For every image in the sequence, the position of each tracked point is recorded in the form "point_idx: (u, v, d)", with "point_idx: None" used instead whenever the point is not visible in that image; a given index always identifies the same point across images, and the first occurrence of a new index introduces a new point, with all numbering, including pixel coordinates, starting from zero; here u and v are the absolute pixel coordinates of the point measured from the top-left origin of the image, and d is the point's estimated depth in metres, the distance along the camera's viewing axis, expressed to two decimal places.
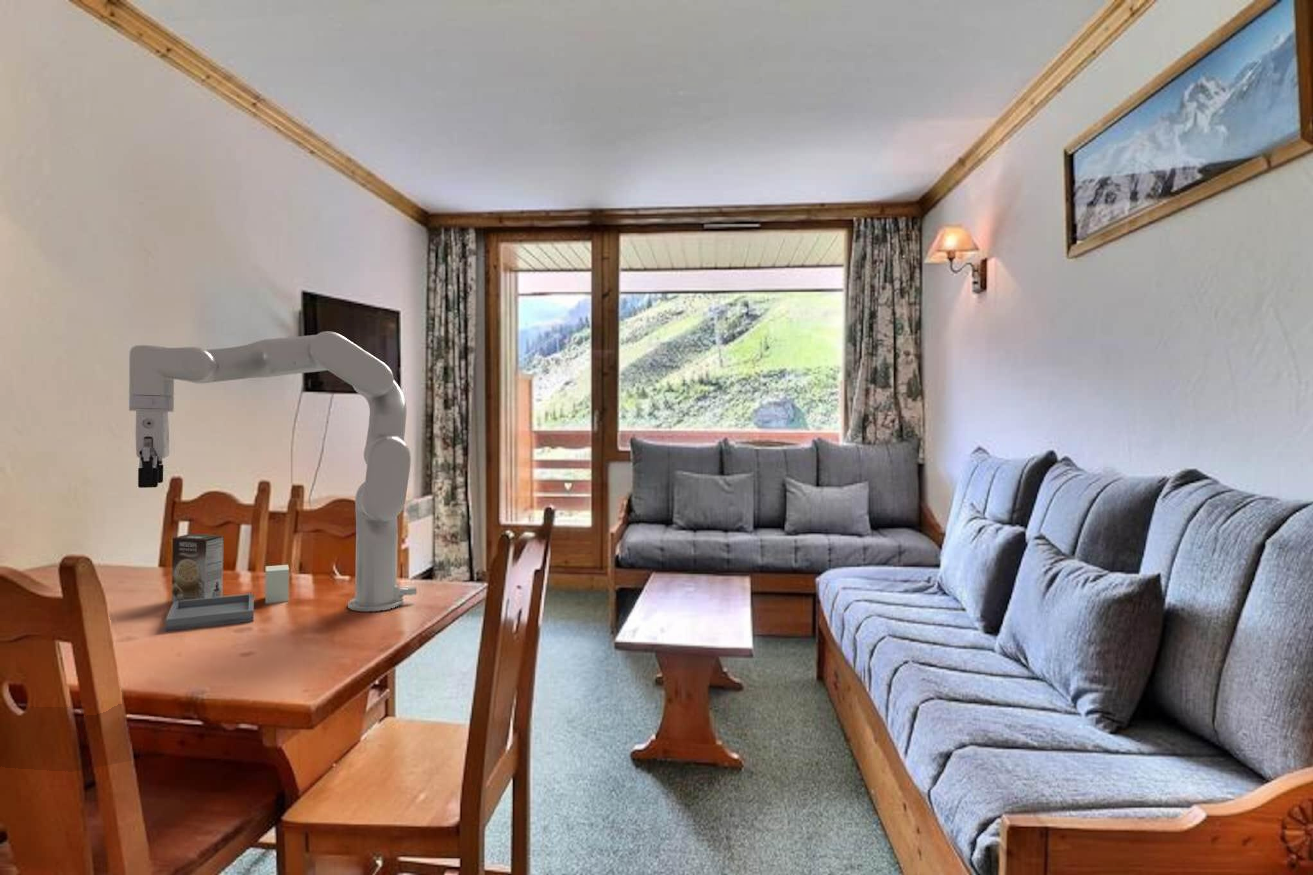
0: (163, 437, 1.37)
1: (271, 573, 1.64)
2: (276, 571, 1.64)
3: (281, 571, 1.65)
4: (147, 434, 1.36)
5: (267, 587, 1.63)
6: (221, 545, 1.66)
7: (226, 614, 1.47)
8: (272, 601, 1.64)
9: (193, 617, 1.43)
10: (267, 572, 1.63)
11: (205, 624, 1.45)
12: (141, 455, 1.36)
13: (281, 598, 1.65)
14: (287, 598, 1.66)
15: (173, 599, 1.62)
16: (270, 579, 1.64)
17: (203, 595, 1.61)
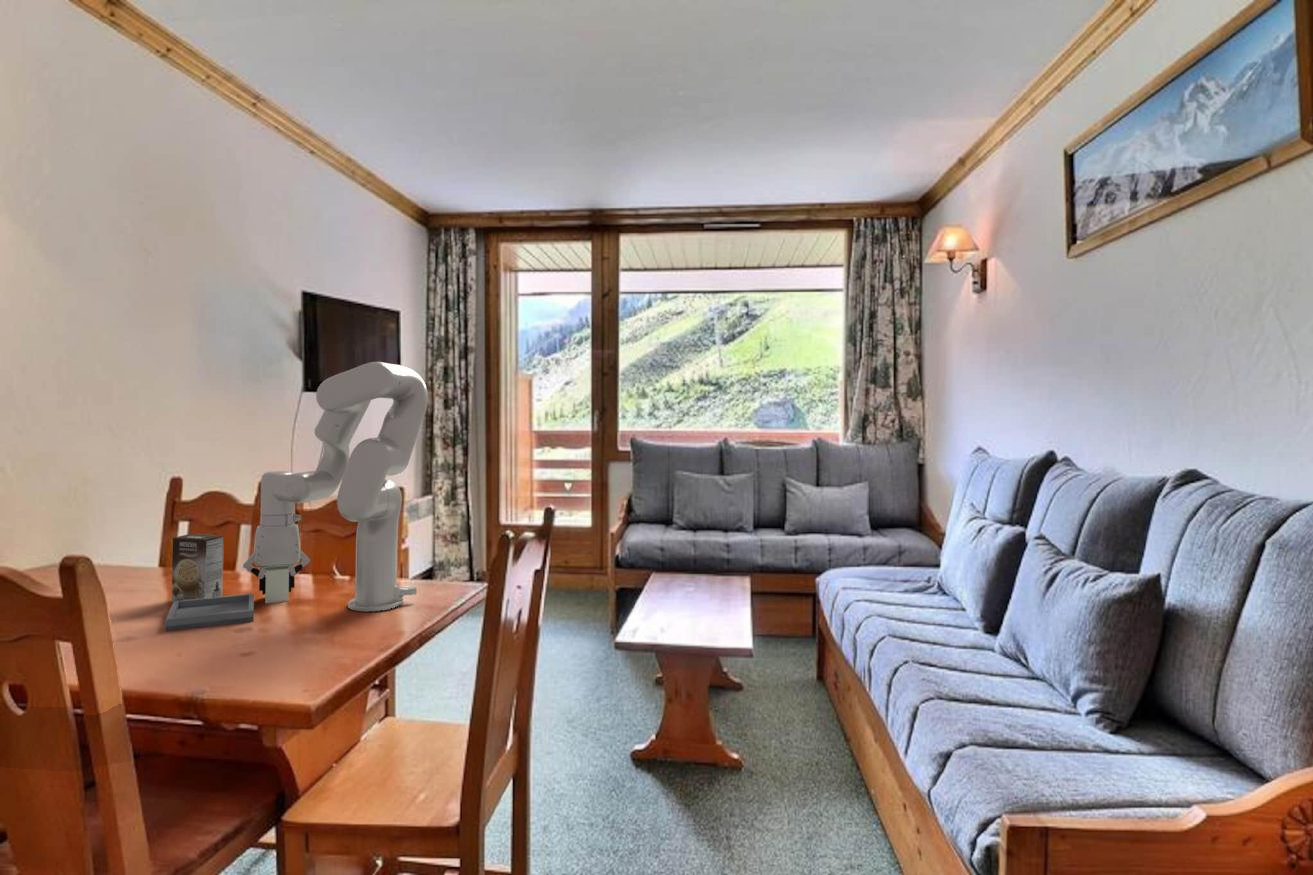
0: None
1: (271, 573, 1.64)
2: (276, 571, 1.64)
3: (281, 571, 1.65)
4: None
5: (267, 587, 1.63)
6: (221, 545, 1.66)
7: (226, 614, 1.47)
8: (272, 601, 1.64)
9: (193, 617, 1.43)
10: (267, 572, 1.63)
11: (205, 624, 1.45)
12: (293, 565, 1.68)
13: (281, 598, 1.65)
14: (287, 598, 1.66)
15: (173, 599, 1.62)
16: (270, 579, 1.64)
17: (203, 595, 1.61)
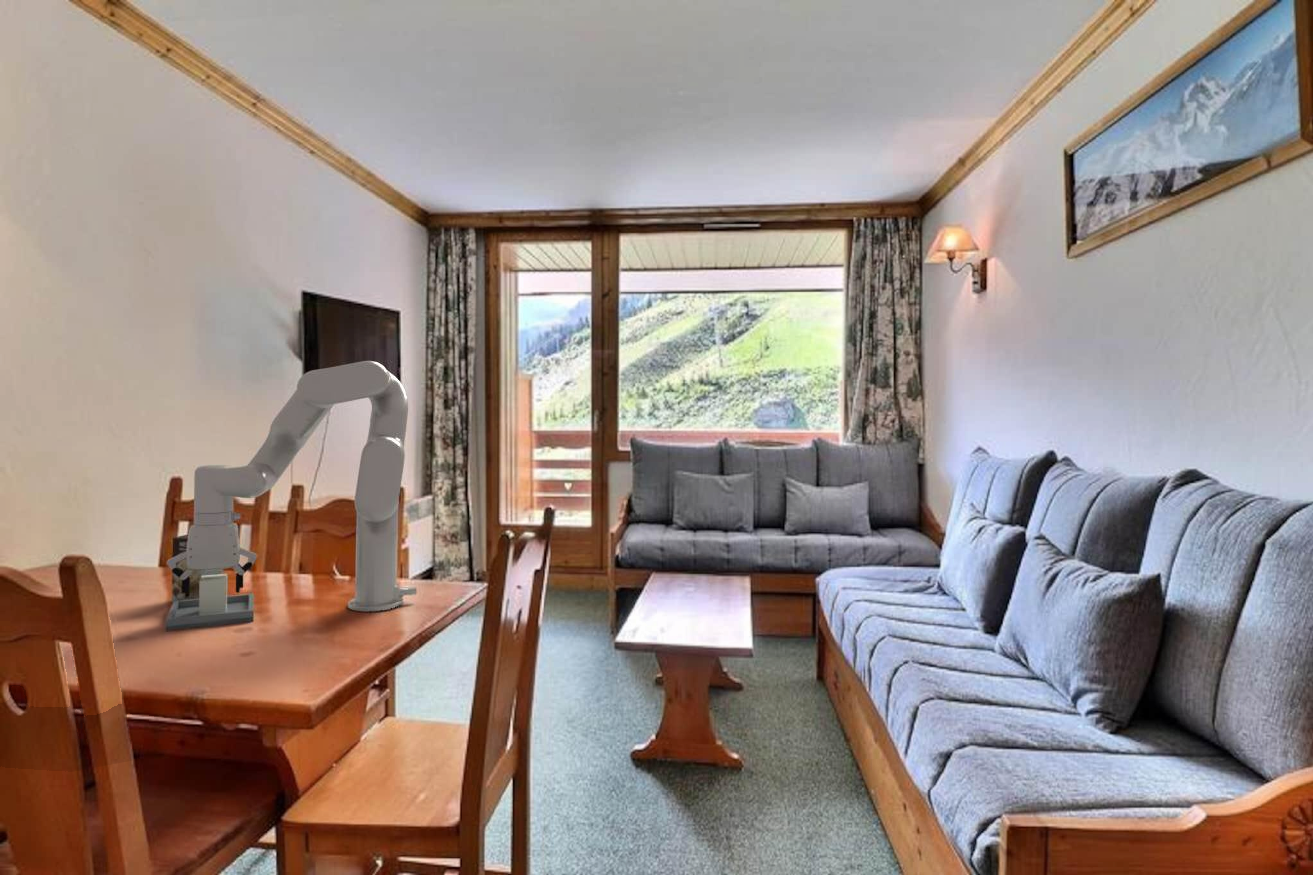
0: None
1: (206, 583, 1.49)
2: (211, 581, 1.49)
3: (217, 581, 1.50)
4: (239, 544, 1.54)
5: (201, 599, 1.48)
6: None
7: (226, 614, 1.47)
8: None
9: (193, 617, 1.43)
10: (201, 582, 1.48)
11: (205, 624, 1.45)
12: None
13: (217, 611, 1.50)
14: (224, 611, 1.50)
15: (173, 599, 1.62)
16: (204, 590, 1.48)
17: None
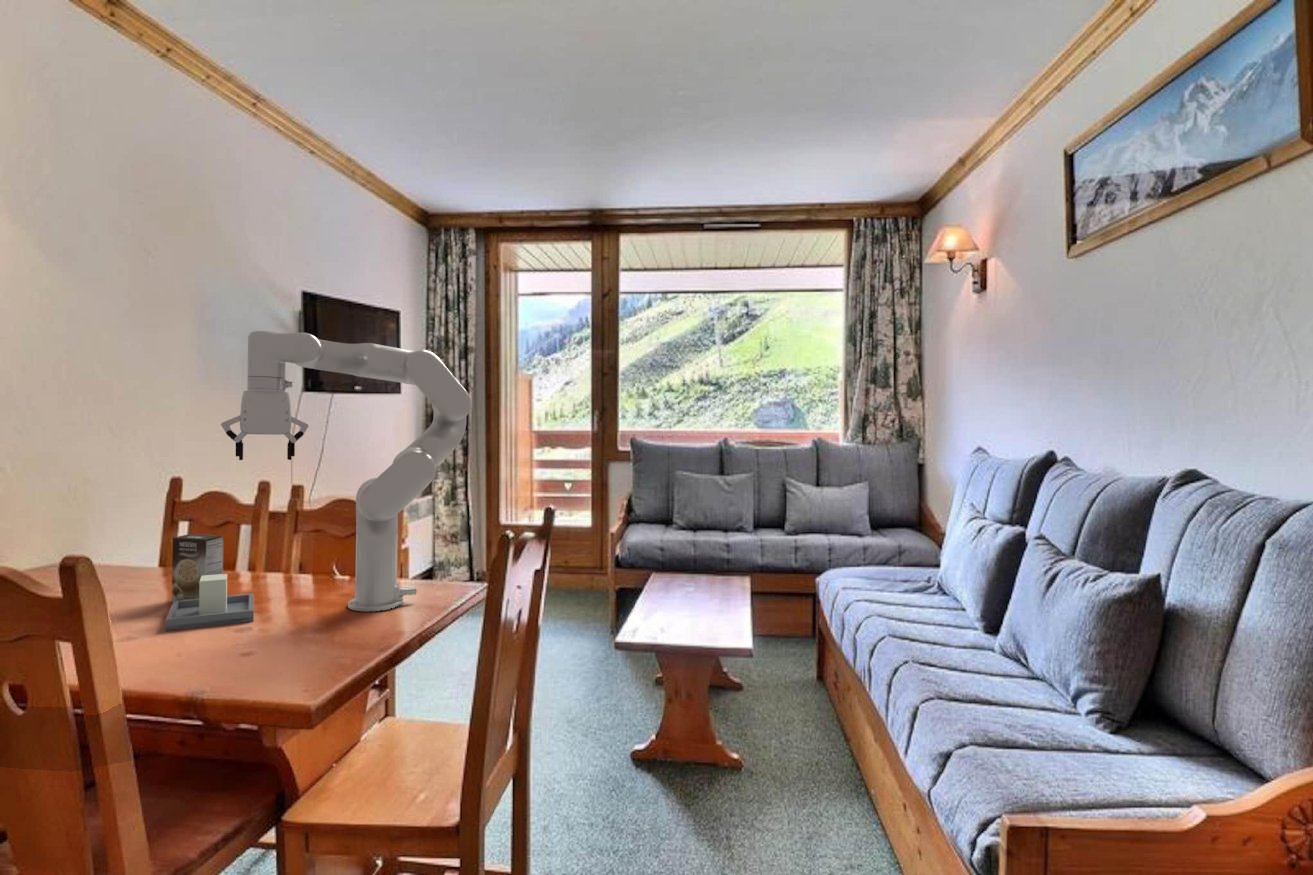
0: None
1: (206, 583, 1.49)
2: (211, 581, 1.49)
3: (217, 581, 1.50)
4: None
5: (201, 599, 1.48)
6: (221, 545, 1.66)
7: (226, 614, 1.47)
8: None
9: (193, 617, 1.43)
10: (201, 582, 1.48)
11: (205, 624, 1.45)
12: None
13: (217, 611, 1.50)
14: (224, 611, 1.50)
15: (173, 599, 1.62)
16: (204, 590, 1.48)
17: None
